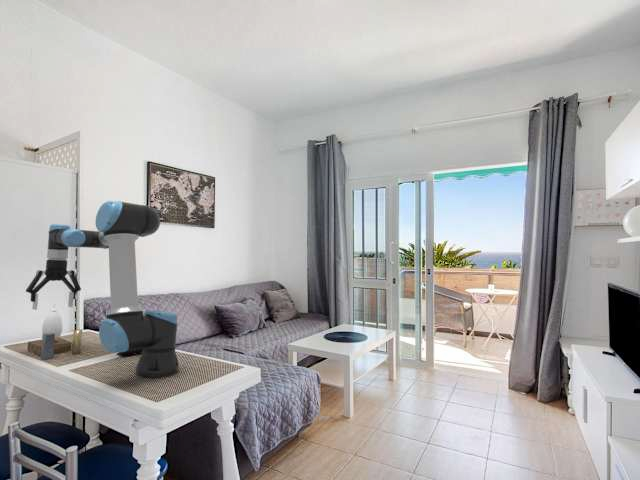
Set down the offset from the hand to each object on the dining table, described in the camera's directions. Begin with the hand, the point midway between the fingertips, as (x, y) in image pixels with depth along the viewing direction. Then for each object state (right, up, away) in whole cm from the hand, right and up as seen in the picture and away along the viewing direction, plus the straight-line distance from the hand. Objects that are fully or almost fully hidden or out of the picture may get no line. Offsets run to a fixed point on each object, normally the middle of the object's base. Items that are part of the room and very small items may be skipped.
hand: (53, 308), depth 164 cm
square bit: (+5, -19, -11) cm, 22 cm away
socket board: (-1, -19, -1) cm, 19 cm away
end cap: (+33, -21, +1) cm, 39 cm away
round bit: (+11, -19, -2) cm, 23 cm away
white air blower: (-11, -19, +14) cm, 26 cm away
